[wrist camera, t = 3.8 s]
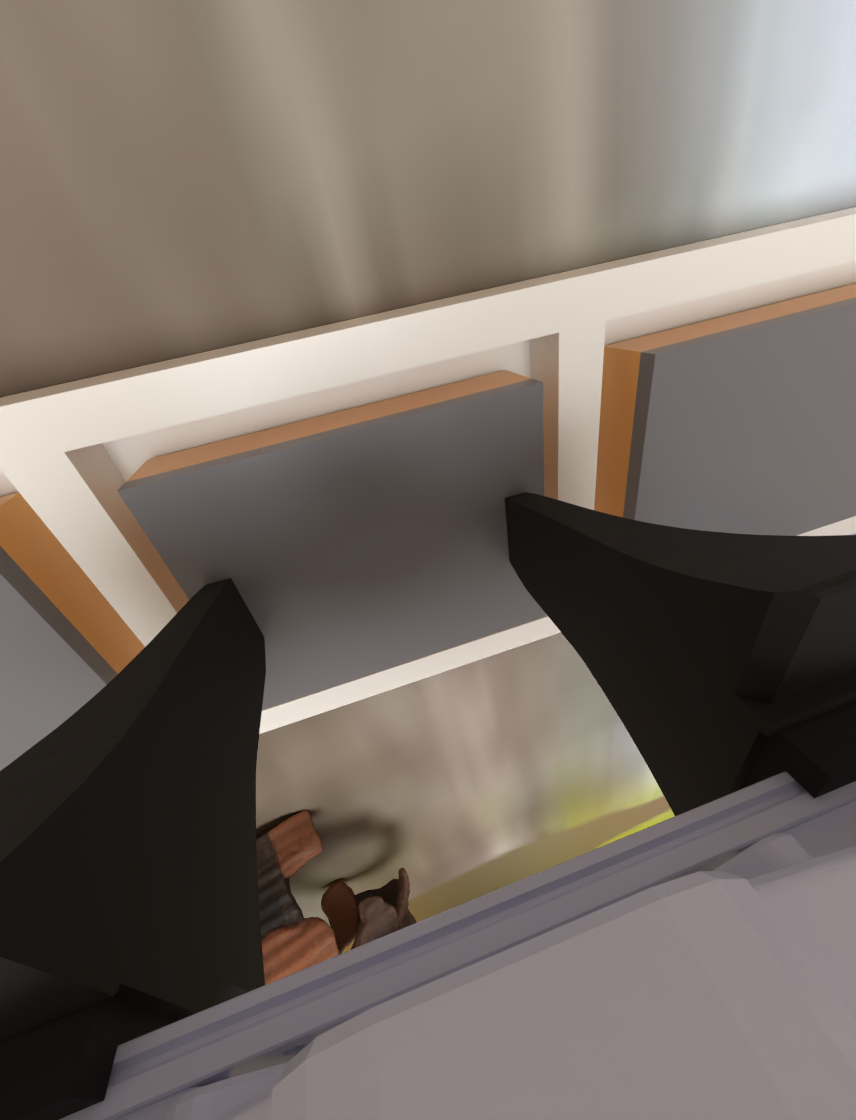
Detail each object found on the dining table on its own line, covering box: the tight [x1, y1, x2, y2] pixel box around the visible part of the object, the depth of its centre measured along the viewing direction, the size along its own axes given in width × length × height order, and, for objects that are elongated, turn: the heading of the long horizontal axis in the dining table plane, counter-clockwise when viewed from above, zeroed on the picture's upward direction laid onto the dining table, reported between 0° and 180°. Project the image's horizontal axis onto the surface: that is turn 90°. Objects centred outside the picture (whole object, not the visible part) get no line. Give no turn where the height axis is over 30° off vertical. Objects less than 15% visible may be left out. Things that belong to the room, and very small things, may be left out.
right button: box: [594, 284, 856, 536], centre depth 13 cm, size 9×7×2 cm
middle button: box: [117, 370, 546, 710], centre depth 12 cm, size 9×7×2 cm
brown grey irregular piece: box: [256, 810, 417, 985], centre depth 22 cm, size 12×10×8 cm
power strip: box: [0, 207, 856, 734], centre depth 12 cm, size 45×11×3 cm, turn 100°
